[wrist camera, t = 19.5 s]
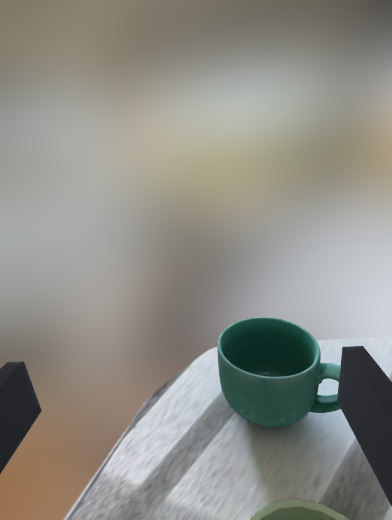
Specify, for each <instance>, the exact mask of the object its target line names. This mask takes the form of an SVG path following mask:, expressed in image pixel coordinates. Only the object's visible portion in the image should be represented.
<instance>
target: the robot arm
mask: <svg viewBox="0 0 392 520" xmlns="http://www.w3.org/2000/svg"><path fill="white" fill-rule="evenodd" d="M337 402H338V404H339V406H340V408H341V409H342V411H343V413H344V415H345V417H346V419H347V421H348V423H349V425H350V427H351V429H352V431H353V433H354V435H355V436H356V438H357V440H358V442H359V444H360V446H361V448H362V450H363V452H364V454H365V456H366V458H367V460H368V462H369V463H370V465H371V467H372V469H373V471H374V473H375V475H376V477H377V479H378V481H379V483H380V485H381V487H382V489H383V490H384V492H385V494H386V496H387V498H388V500H389V502H390V504H391V506H392V382H391V381H390V379H389V378H388V377H387V376H386V374H385V373H384V372H383V371H382V369H381V368H380V367H379V366H378V364H377V363H376V362H375V361H374V359H373V358H372V357H371V356H370V354H369V353H368V352H367V351H366V349H365V348H364V347H363V346H353V347H343V348H342V358H341V368H340V378H339V388H338V398H337ZM40 412H41V408H40V405H39V403H38V399H37V397H36V394H35V391H34V388H33V386H32V383H31V380H30V378H29V375H28V372H27V369H26V366H25V363H24V362H7V363H6V364H5V365H4V366H3V367H2V368H1V369H0V473H1V472H2V470H3V469H4V467H5V466H6V464H7V463H8V461H9V460H10V458H11V457H12V455H13V453H14V452H15V450H16V449H17V447H18V446H19V444H20V442H21V441H22V440H23V438H24V437H25V435H26V434H27V432H28V431H29V429H30V428H31V425H32V424H33V423H34V421H35V420H36V418H37V417H38V415H39V414H40Z"/></svg>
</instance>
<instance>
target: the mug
mask: <svg viewBox="0 0 392 520" xmlns="http://www.w3.org/2000/svg"><path fill="white" fill-rule="evenodd" d="M218 365H219V375H220V383H221V387H222V391H223V394H224V396H225V398H226V400H227V402H228V403H229V405H230V406H231V407H232V408H233V410H234V411H235V412H236V413H238V414H239V415H240V416H242V417H243V418H245V419H246V420H248V421H250V422H252V423H255V424H258V425H262V426H268V427H282V426H288V425H291V424H293V423H296V422H298V421H299V420H301V419H302V418H303V417H305V416H306V415H307V414H308V412H314V413H325V412H332V411H336V410H339V409H341V408H340V406H339V404H338V402H337V398H338V394H336V395H331V396H321V395H317V392H318V386H319V384H320V383H321V382H322V380H323V379H327V378H330V379H334V380H337V381H338V382H339V378H340V368H341V365H339V364H333V363H320V348H319V345H318V343H317V341H316V340H315V339H314V337H313V336H312V335H311V334H310V333H309V332H307V331H306V330H305V329H303V328H302V327H300V326H298V325H296V324H294V323H291V322H288V321H285V320H281V319H276V318H265V317H263V318H261V317H259V318H250V319H245V320H241V321H239V322H236V323H234V324H232V325H230V326H229V327H227V328H226V329H225V330H224V331H223V332H222V334H221V335H220V337H219V340H218Z"/></svg>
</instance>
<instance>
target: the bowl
mask: <svg viewBox="0 0 392 520" xmlns="http://www.w3.org/2000/svg"><path fill="white" fill-rule="evenodd" d="M250 520H349V519H348V518H346V517H345V516H343V515H341V514H339V513H337V512H335V511H334V510H332V509H330V508H328V507H326V506H324V505H322V504H318V503H314V502H310V501H305V500H301V499H292V500H282V501H276V502H274V503H272V504H270V505H268V506H266V507H264V508H262V509H260V510H259V511H257V512H256V513H255V514H254V515H253V516H252V517H251V519H250Z"/></svg>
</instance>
